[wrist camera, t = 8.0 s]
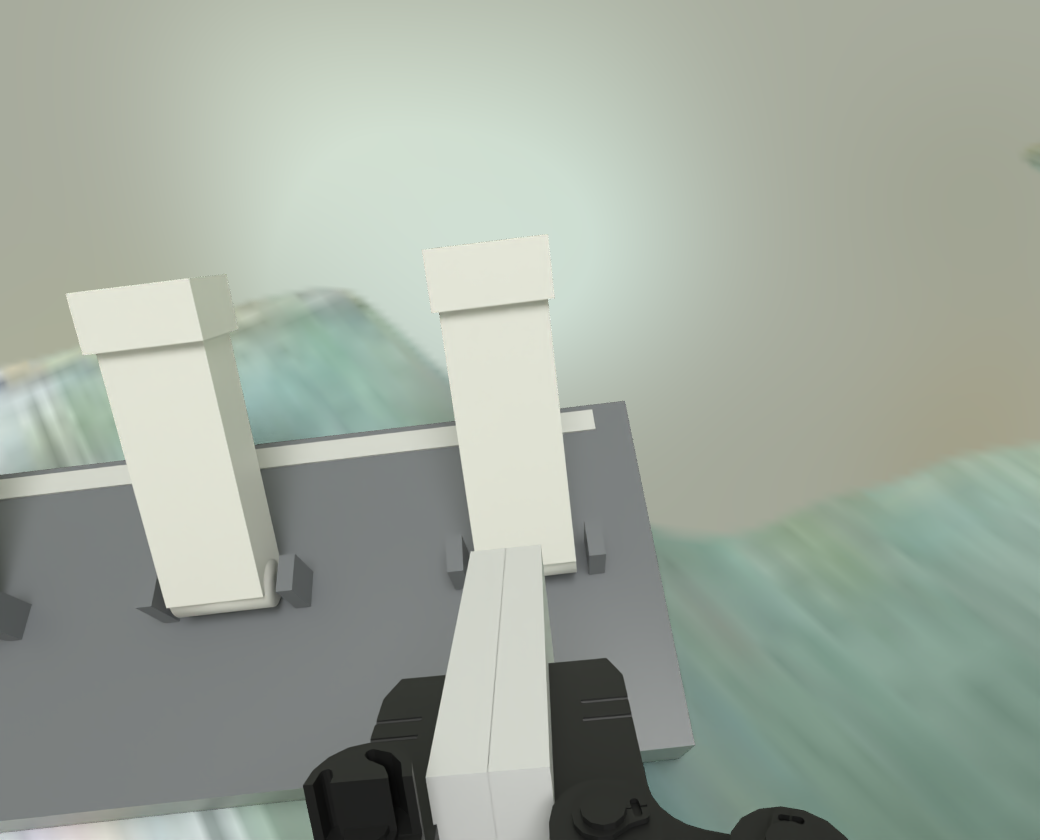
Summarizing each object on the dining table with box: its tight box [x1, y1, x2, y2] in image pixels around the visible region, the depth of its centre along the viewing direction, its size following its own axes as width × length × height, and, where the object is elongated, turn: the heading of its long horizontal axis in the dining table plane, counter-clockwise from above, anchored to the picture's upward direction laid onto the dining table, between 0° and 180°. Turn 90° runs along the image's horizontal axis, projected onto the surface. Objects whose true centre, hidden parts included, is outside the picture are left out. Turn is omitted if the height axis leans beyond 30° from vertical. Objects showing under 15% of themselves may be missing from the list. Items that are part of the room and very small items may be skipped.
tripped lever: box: [422, 234, 577, 576], centre depth 25 cm, size 3×4×12 cm
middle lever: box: [66, 274, 281, 618], centre depth 25 cm, size 3×4×12 cm
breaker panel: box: [0, 401, 695, 833], centre depth 28 cm, size 14×33×7 cm, turn 95°
